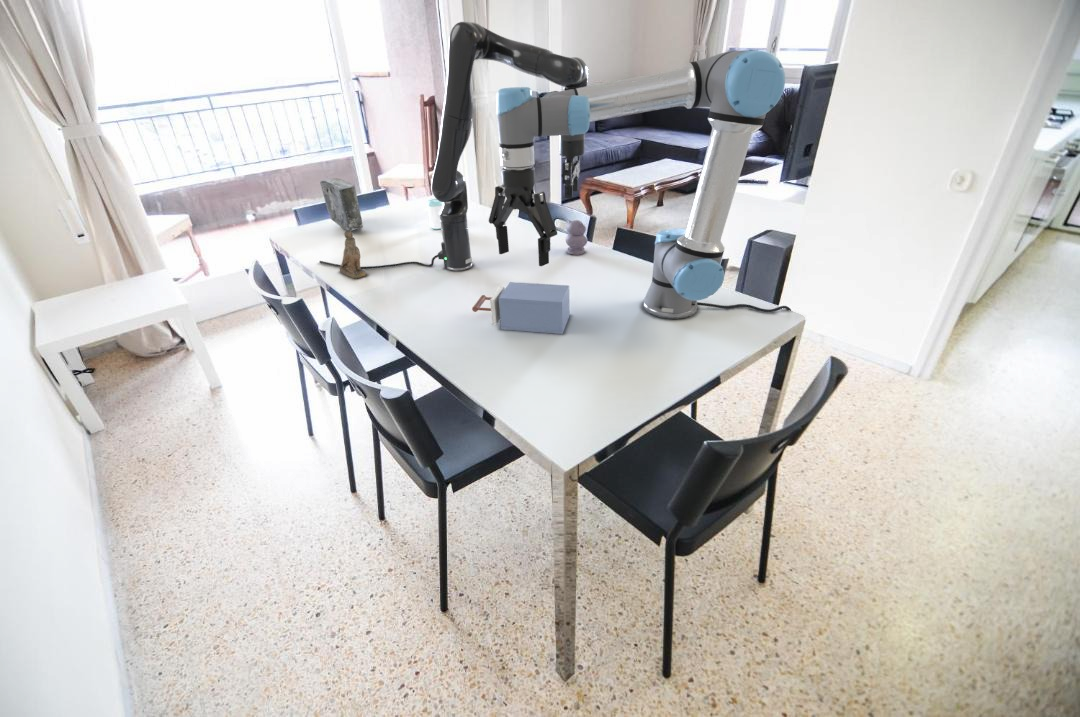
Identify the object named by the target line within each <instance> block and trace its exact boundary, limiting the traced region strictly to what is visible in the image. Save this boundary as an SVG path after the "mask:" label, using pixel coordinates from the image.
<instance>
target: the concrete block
mask: <svg viewBox="0 0 1080 717" xmlns="http://www.w3.org/2000/svg"><path fill="white" fill-rule="evenodd" d="M319 183H320V187H321V191H322V195H323V198H324V199H323V200H324V202H325V206H326V209H327V212H328V216H329V218H330V220H332V221H333V222H334V223H336V224H337V225H338V226H339V227H341V228H342V229H343V230H345V231H348V230H350V231H352V232H353V231H354V230H358V229H361V228H363V227H364V224H363V218H362V214H361V210H360V205H359V204H360V203H359V200H358V195H357V194H358V193H357V189H356V186H355V185H354V184H353V183H351V182H350V181H347V180H345V179H341V178H336V177H332V178H327V179H322V180H320V182H319Z"/></svg>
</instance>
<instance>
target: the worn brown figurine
mask: <svg viewBox="0 0 1080 717" xmlns="http://www.w3.org/2000/svg"><path fill="white" fill-rule="evenodd" d="M343 236H344V238H346V239H345V240H344V249H343V253H342V254H343V255H342V261H341V264H340V265H341V266H340V267H339V273H341V274H343V275H344V276H347V277H350V278H352V279H356V280H357V279H360V278H362V277H366V276H367V273H366V271H365V269H361V268H360V267H361V252H360V249H359V247H358V246H357V244H356V243H357V242H356V239H355V237H354V234H353V230H352V231H350V230H348V231H347V230H345V232H344V234H343Z"/></svg>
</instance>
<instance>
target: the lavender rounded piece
mask: <svg viewBox="0 0 1080 717" xmlns="http://www.w3.org/2000/svg"><path fill="white" fill-rule="evenodd" d="M566 221H567V227H566V228H567V229H566V230H567V233H568V234H567V235H566V237H565V243H566V245H567V246H568V247H567V253H568V254H569V255H573V256H578V255H582V254H584V253H585V247H586V245H587V243H588V237H587V235H586V234H585V233H586V230H587V226H586V224H585V223H584V222H583V221H582V220H578V219H574V220H569V219H566Z"/></svg>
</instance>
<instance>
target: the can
mask: <svg viewBox="0 0 1080 717" xmlns="http://www.w3.org/2000/svg"><path fill="white" fill-rule="evenodd" d="M426 207H427V211H428V212H427V213H428V219H429V226H430V228H431V229H433V230H442V229H441V223H440V215H439V214H440V211H441V209H442V207H443V202H440V201H438V200H437V199H436V198H432V199H428V201H427V204H426Z"/></svg>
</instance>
